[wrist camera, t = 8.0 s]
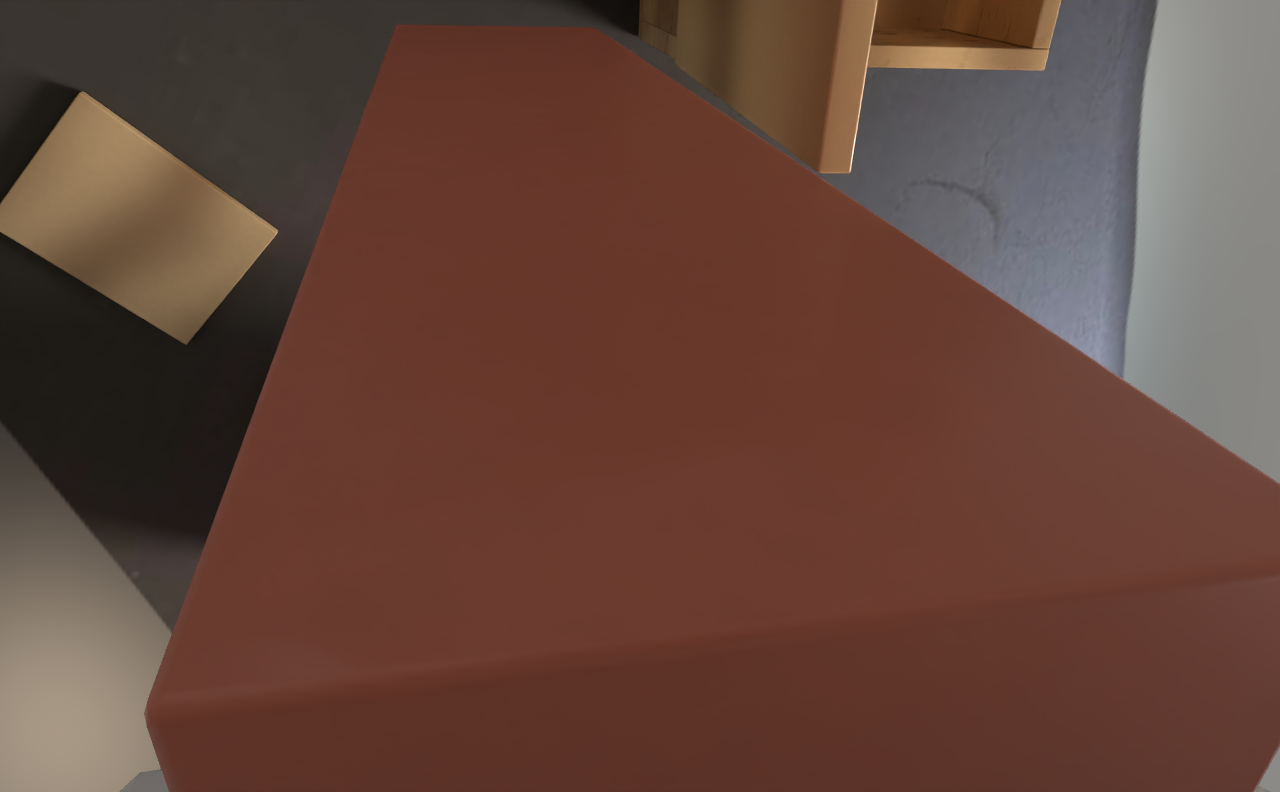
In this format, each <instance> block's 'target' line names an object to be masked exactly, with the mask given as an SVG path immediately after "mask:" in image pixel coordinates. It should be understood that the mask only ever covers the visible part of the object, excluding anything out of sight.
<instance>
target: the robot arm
mask: <svg viewBox="0 0 1280 792" xmlns="http://www.w3.org/2000/svg"><path fill="white" fill-rule="evenodd" d="M120 792H169V791H168V788H167V785H166V782H165V779H164V776H163V773H162V770H161V769H160V770H154V771H148V772H141V773H139V774H138V775H137V776H136V777H135V778H134V779H133V780H132V781H131V782H130V783H128V784H127V785H126V786H125V787H124V788H123V789H122V790H121V791H120ZM1255 792H1269V791H1267V790H1265V789H1263V788H1262V787H1260V786H1258V787H1257V788H1256V790H1255Z"/></svg>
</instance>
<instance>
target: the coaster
mask: <svg viewBox="0 0 1280 792" xmlns="http://www.w3.org/2000/svg"><path fill="white" fill-rule="evenodd" d="M0 232H2V233H3V234H5V235H7V236H8V237H10V238H11V239H13V240H15V241H16V242H18V243H20V244H21V245H23V246H25V247H26V248H28V249H29V250H31V251H33V252H34V253H36V254H38V255H39V256H41V257H43V258H44V259H46V260H48V261H49V262H51V263H52V264H54V265H56V266H57V267H59V268H61V269H62V270H64V271H66V272H67V273H69V274H70V275H72V276H74V277H75V278H77V279H79V280H80V281H82V282H84V283H85V284H87V285H89V286H90V287H92V288H93V289H95V290H97V291H98V292H100V293H102V294H103V295H105V296H107V297H108V298H110V299H111V300H113V301H115V302H116V303H118V304H120V305H121V306H123V307H125V308H126V309H128V310H130V311H131V312H133V313H134V314H136V315H138V316H139V317H141V318H143V319H144V320H146V321H148V322H149V323H151V324H152V325H154V326H156V327H157V328H159V329H161V330H162V331H164V332H166V333H167V334H169V335H171V336H172V337H174V338H175V339H177V340H179V341H180V342H182V343H184V344H185V345H187V344H188V343H189V341H190V340H191V339H192V338H193V336H194V335H195V334H196V333H197V332H198V330H199V329H200V328H201V327H202V325H203V324H204V323H205V322H206V320H207V319H208V318H209V317H210V316H211V314H212V313H213V312H214V311H215V309H216V308H217V307H218V306H219V304H220V303H221V302H222V301H223V300H224V298H225V297H226V296H227V295H228V293H229V292H230V291H231V290H232V288H233V287H234V286H235V285H236V284H237V282H238V281H239V280H240V279H241V277H242V276H243V275H244V274H245V272H246V271H247V270H248V269H249V268H250V266H251V265H252V264H253V263H254V261H255V260H256V259H257V258H258V256H259V255H260V254H261V253H262V252H263V250H264V249H265V248H266V247H267V245H268V244H269V243H270V242H271V240H272V239H273V238H274V237H275V236H276V234H277V233H278V230H277V229H276V228H274V227H273V226H272V225H270V224H269V223H267V222H266V221H265V220H263V219H262V218H260V217H259V216H257V215H256V214H255V213H253V212H252V211H250V210H249V209H248V208H246V207H245V206H243V205H242V204H241V203H239V202H238V201H236V200H235V199H234V198H232V197H231V196H229V195H228V194H227V193H225V192H224V191H222V190H221V189H220V188H218V187H217V186H215V185H214V184H213V183H211V182H210V181H208V180H207V179H206V178H204V177H203V176H201V175H200V174H199V173H197V172H196V171H194V170H193V169H192V168H190V167H189V166H187V165H186V164H184V163H183V162H182V161H180V160H179V159H177V158H176V157H175V156H173V155H172V154H170V153H169V152H168V151H166V150H165V149H163V148H162V147H161V146H159V145H158V144H156V143H155V142H154V141H152V140H151V139H149V138H148V137H147V136H145V135H144V134H142V133H141V132H140V131H138V130H137V129H135V128H134V127H133V126H131V125H130V124H128V123H127V122H126V121H124V120H123V119H121V118H120V117H119V116H117V115H116V114H114V113H113V112H112V111H110V110H109V109H107V108H106V107H104V106H103V105H102V104H100V103H99V102H97V101H96V100H95V99H93V98H92V97H90V96H89V95H88V94H86V93H85V92H83V91H82V92H80V93H78V95H77V96H76V98H75V99H74V100H73V102H72V103H71V105H70V106H69V107H68V109H67V110H66V112H65V113H64V114H63V116H62V117H61V119H60V120H59V122H58V123H57V124H56V126H55V127H54V129H53V130H52V131H51V133H50V134H49V136H48V137H47V138H46V140H45V141H44V143H43V144H42V145H41V147H40V148H39V150H38V151H37V152H36V154H35V155H34V157H33V158H32V160H31V161H30V162H29V164H28V165H27V167H26V168H25V169H24V171H23V172H22V174H21V175H20V176H19V178H18V179H17V181H16V182H15V183H14V185H13V186H12V188H11V189H10V190H9V192H8V193H7V195H6V196H5V198H4V199H3V200H2V202H1V203H0Z"/></svg>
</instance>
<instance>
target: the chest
mask: <svg viewBox="0 0 1280 792" xmlns="http://www.w3.org/2000/svg"><path fill="white" fill-rule="evenodd" d="M1060 3H1061V0H878V1H877V7H876V13H875V19H874V26H873V32H872V38H871V45H870V51H869V57H868V64H867V67H893V68H945V69H996V70H1044V68H1045V64H1046V60H1047V56H1048V52H1049V49H1048V48H1049V47H1050V43H1051V39H1052V35H1053V31H1054V27H1055V23H1056V19H1057V15H1058V11H1059V7H1060ZM678 4H679V0H640V10H639V35H638V37H639V38H640V39H641V40H643V41H644V42H646V43H648V44H650V45H651V46H653V47H655V48H656V49H658V50H660V51H662V52H663V53H665V54H667V55H669V56H670V57H672V58H674V59H675V55H676V38H677V21H678Z"/></svg>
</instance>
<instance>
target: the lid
mask: <svg viewBox="0 0 1280 792" xmlns="http://www.w3.org/2000/svg"><path fill="white" fill-rule="evenodd" d="M877 1H878V0H679V4H678V21H677V38H676V55H675V65H676V66H678V67H679V68H680V69H682V70H683V71H684V72H686V73H687V74H688V75H690V76H691V77H692V78H694V79H695V80H696V81H698V82H699V83H700V84H702V85H703V86H704V87H706V88H707V89H708V90H710V91H711V92H712V93H713V94H715V95H716V96H717V97H719V98H720V99H721V100H723V101H724V102H725V103H727V104H728V105H729V106H731V107H732V108H733V109H735V110H736V111H737V112H739V113H740V114H741V115H743V116H744V117H745V118H747V119H748V120H749V121H751V122H752V123H753V124H755V125H756V126H757V127H758V128H760V129H761V130H762V131H764V132H765V133H766V134H768V135H769V136H770V137H772V138H773V139H774V140H776V141H777V142H778V143H780V144H781V145H782V146H784V147H785V148H786V149H788V150H789V151H790V152H792V153H793V154H794V155H796V156H797V157H798V158H799V159H801V160H802V161H803V162H805V163H806V164H807V165H809V166H810V167H811V168H813V169H814V170H815V171H817V172H818V173H850V171H851V165H852V158H853V152H854V146H855V139H856V133H857V127H858V120H859V114H860V108H861V102H862V95H863V89H864V83H865V76H866V70H867V64H868V57H869V51H870V45H871V38H872V32H873V26H874V19H875V13H876V7H877Z"/></svg>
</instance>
